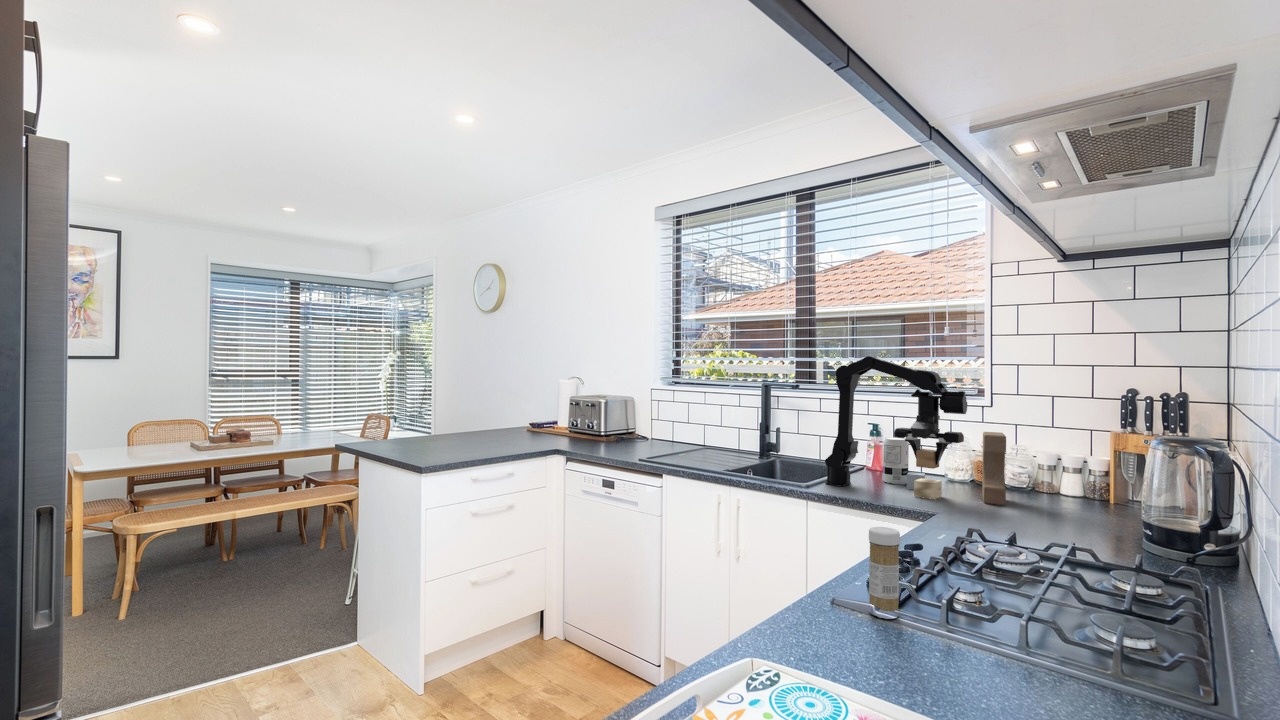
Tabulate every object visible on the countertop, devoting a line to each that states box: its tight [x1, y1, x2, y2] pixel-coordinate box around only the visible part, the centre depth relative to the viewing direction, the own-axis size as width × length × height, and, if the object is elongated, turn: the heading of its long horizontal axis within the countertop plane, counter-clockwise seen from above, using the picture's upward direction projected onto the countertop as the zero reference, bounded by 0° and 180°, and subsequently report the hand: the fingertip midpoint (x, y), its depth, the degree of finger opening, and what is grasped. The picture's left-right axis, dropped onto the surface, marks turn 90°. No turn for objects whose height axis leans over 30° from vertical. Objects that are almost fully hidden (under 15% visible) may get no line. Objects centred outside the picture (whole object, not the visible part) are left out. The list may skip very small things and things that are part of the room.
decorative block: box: [981, 431, 1007, 506], centre depth 183 cm, size 11×6×20 cm, turn 152°
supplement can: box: [881, 436, 910, 485], centre depth 211 cm, size 8×8×15 cm
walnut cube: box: [915, 448, 940, 469], centre depth 188 cm, size 5×5×5 cm
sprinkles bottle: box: [868, 526, 901, 611], centre depth 97 cm, size 5×5×14 cm
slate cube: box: [906, 471, 926, 490], centre depth 200 cm, size 5×5×5 cm
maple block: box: [913, 478, 943, 500], centre depth 188 cm, size 6×6×5 cm
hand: (927, 463), depth 188 cm, fingers closed on walnut cube, 5 cm apart
